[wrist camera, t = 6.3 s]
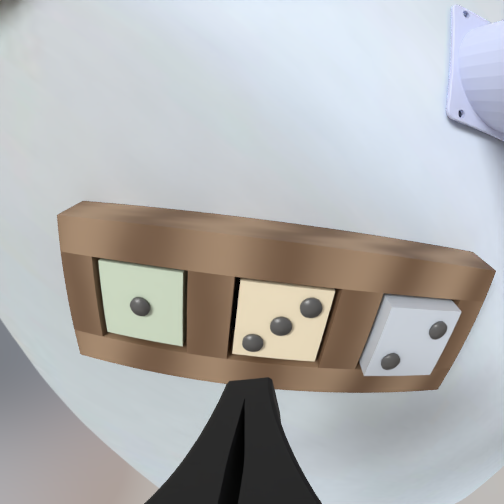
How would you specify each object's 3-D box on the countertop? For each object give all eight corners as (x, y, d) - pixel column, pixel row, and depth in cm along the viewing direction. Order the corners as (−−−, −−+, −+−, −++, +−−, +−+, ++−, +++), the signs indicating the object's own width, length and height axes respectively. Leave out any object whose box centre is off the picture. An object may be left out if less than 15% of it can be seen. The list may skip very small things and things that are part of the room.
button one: (193, 252, 19) (182, 274, 16) (191, 320, 21) (181, 348, 18) (117, 242, 19) (96, 262, 16) (123, 308, 21) (106, 333, 18)
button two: (442, 289, 18) (463, 313, 15) (416, 349, 20) (430, 376, 17) (376, 281, 18) (393, 309, 15) (354, 347, 20) (364, 378, 17)
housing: (472, 252, 18) (496, 270, 15) (424, 364, 22) (437, 389, 19) (82, 201, 18) (57, 215, 15) (97, 329, 22) (80, 354, 19)
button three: (326, 268, 19) (335, 293, 16) (309, 334, 21) (314, 363, 18) (243, 258, 19) (240, 282, 16) (236, 326, 21) (231, 355, 18)
